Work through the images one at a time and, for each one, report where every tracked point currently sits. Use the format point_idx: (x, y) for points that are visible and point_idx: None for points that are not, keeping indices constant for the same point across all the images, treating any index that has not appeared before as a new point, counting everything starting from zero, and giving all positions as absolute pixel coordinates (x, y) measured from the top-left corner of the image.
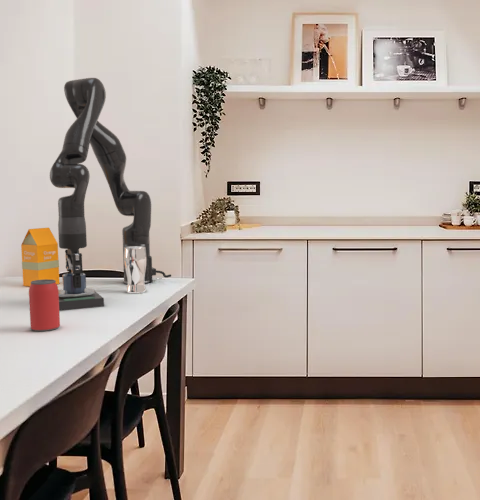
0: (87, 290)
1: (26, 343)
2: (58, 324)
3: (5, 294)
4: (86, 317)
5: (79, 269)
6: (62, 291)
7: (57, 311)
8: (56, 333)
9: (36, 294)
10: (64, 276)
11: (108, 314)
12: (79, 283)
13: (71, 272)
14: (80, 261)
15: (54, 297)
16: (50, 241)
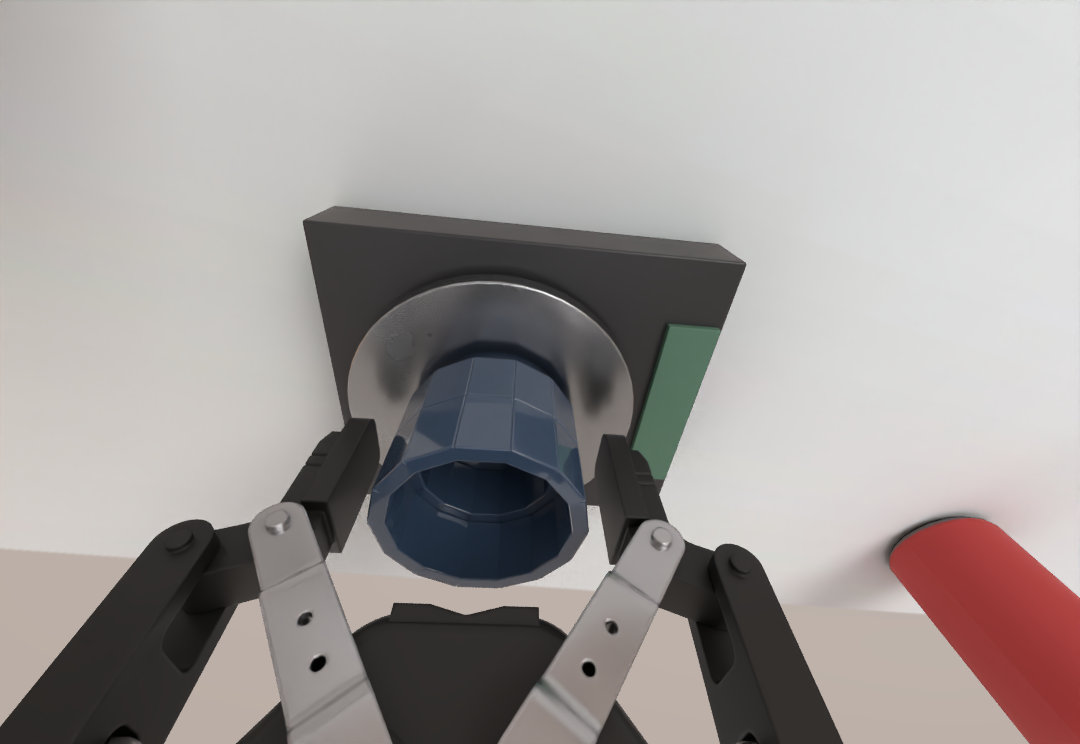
0: (519, 342)
1: None
2: (1004, 532)
3: (58, 552)
4: (913, 404)
5: (666, 589)
6: None
7: (1067, 587)
8: (1038, 531)
9: None
10: (517, 579)
11: (973, 297)
12: (647, 472)
13: (339, 529)
14: (823, 730)
15: None
16: None
